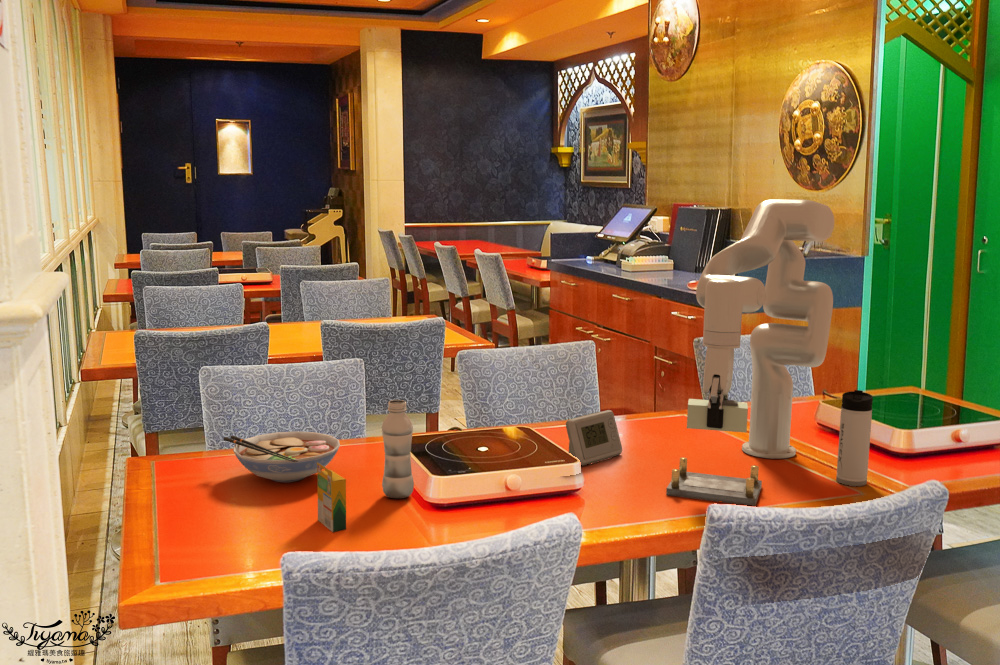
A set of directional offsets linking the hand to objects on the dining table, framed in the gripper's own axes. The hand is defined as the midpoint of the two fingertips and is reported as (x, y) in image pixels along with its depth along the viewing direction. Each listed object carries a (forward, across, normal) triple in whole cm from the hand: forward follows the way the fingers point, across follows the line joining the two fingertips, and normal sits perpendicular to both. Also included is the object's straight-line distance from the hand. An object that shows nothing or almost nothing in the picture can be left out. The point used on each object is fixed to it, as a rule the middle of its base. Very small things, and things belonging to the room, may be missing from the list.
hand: (717, 423), depth 190 cm
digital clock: (+15, -13, -30) cm, 36 cm away
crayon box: (+16, +47, -64) cm, 81 cm away
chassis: (+15, -1, 0) cm, 15 cm away
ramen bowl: (+16, +26, -88) cm, 93 cm away
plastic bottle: (+16, +28, -60) cm, 68 cm away
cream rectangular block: (+1, 0, 0) cm, 1 cm away
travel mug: (+15, -19, +27) cm, 36 cm away
